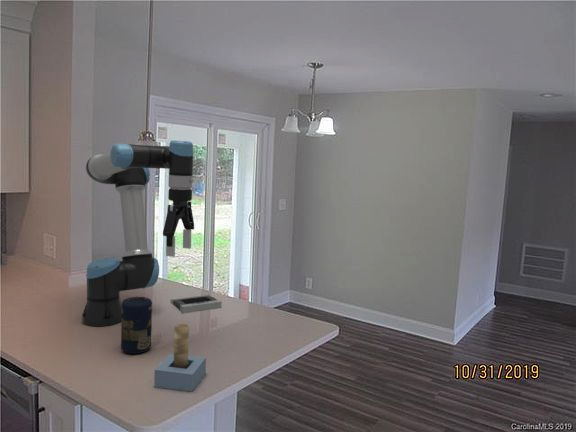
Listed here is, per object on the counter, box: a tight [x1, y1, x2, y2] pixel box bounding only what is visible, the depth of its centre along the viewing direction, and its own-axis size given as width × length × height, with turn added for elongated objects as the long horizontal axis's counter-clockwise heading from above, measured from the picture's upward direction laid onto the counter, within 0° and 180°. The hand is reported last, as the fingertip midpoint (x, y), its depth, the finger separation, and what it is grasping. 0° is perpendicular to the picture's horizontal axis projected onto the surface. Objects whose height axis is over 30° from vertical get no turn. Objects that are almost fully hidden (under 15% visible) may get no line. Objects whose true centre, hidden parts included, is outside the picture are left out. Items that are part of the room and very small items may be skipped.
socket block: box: [153, 353, 207, 393], centre depth 131 cm, size 11×11×5 cm
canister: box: [120, 296, 153, 354], centre depth 149 cm, size 10×10×18 cm
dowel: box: [173, 323, 190, 369], centre depth 130 cm, size 4×4×15 cm
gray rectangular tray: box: [169, 294, 223, 314], centre depth 198 cm, size 17×5×16 cm
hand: (178, 252), depth 152 cm, fingers open, 13 cm apart
